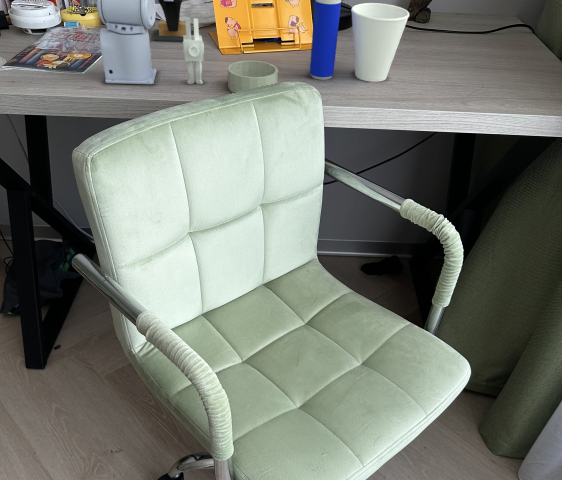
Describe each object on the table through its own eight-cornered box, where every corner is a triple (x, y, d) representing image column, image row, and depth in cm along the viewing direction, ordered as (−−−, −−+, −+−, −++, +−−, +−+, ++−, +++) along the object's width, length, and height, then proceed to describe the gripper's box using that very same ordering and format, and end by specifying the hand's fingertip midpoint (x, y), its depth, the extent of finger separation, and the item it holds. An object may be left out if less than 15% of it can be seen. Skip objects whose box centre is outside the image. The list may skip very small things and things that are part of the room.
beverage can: (318, 70, 126) (325, -10, 115) (337, 76, 124) (346, -5, 113) (304, 76, 123) (310, -6, 112) (323, 82, 121) (331, -1, 110)
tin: (228, 95, 113) (227, 77, 111) (228, 77, 120) (227, 59, 118) (278, 97, 114) (279, 78, 112) (275, 79, 121) (276, 61, 119)
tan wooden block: (159, 35, 136) (158, 23, 134) (160, 32, 138) (159, 20, 136) (189, 36, 137) (188, 24, 135) (189, 33, 139) (188, 21, 137)
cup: (332, 73, 125) (339, 7, 116) (368, 63, 131) (377, -1, 122) (373, 90, 119) (383, 22, 110) (409, 78, 125) (421, 13, 116)
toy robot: (186, 91, 114) (181, 22, 105) (184, 77, 119) (180, 11, 111) (206, 91, 115) (203, 23, 106) (203, 77, 120) (200, 11, 111)
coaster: (153, 40, 135) (153, 39, 134) (156, 31, 140) (156, 29, 140) (192, 42, 135) (192, 40, 135) (193, 32, 141) (193, 30, 140)
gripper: (184, -33, 122) (189, 38, 132) (188, -47, 132) (192, 20, 142) (151, -34, 121) (158, 37, 131) (157, -49, 132) (163, 19, 141)
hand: (173, 28), depth 137 cm, fingers closed on tan wooden block, 3 cm apart
